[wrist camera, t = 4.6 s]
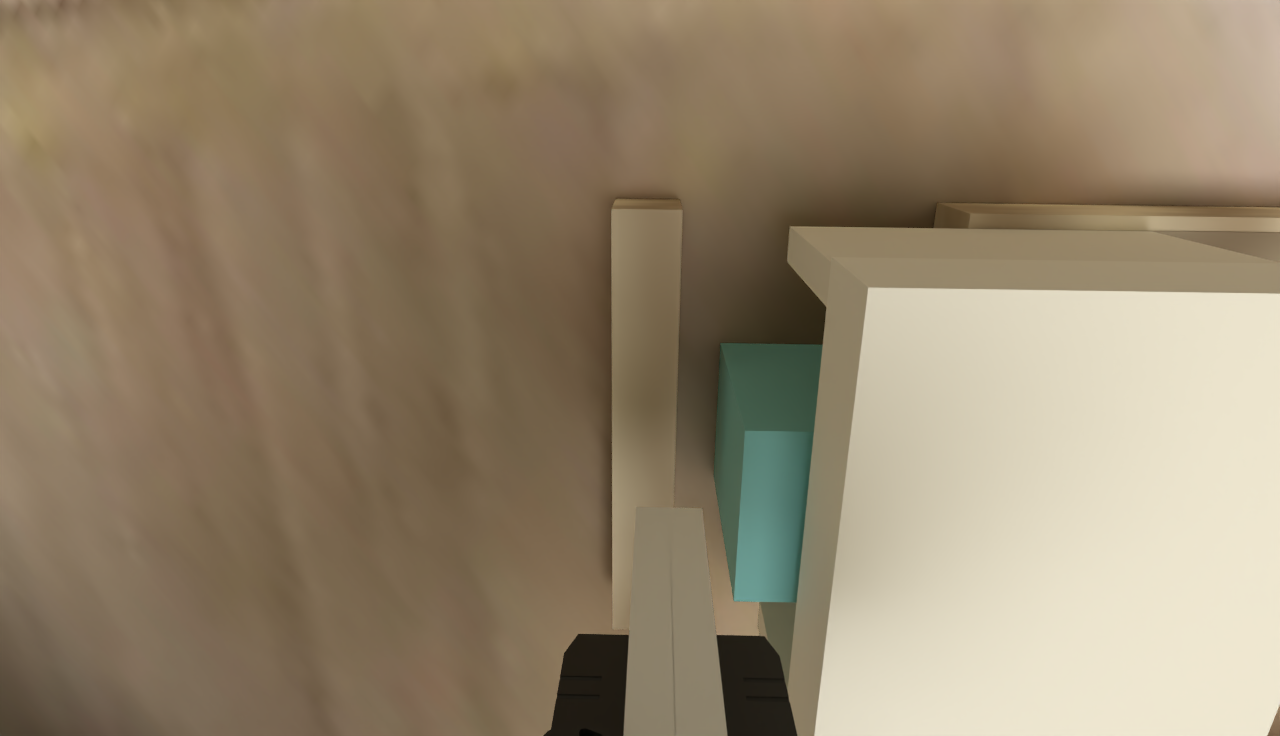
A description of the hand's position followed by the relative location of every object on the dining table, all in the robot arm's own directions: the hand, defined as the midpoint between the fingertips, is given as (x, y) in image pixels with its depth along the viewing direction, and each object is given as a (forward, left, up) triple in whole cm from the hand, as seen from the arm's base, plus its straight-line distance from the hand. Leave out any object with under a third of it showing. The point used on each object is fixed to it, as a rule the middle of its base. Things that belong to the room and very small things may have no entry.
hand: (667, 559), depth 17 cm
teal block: (+4, 0, -9) cm, 10 cm away
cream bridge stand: (+8, 0, -6) cm, 10 cm away
